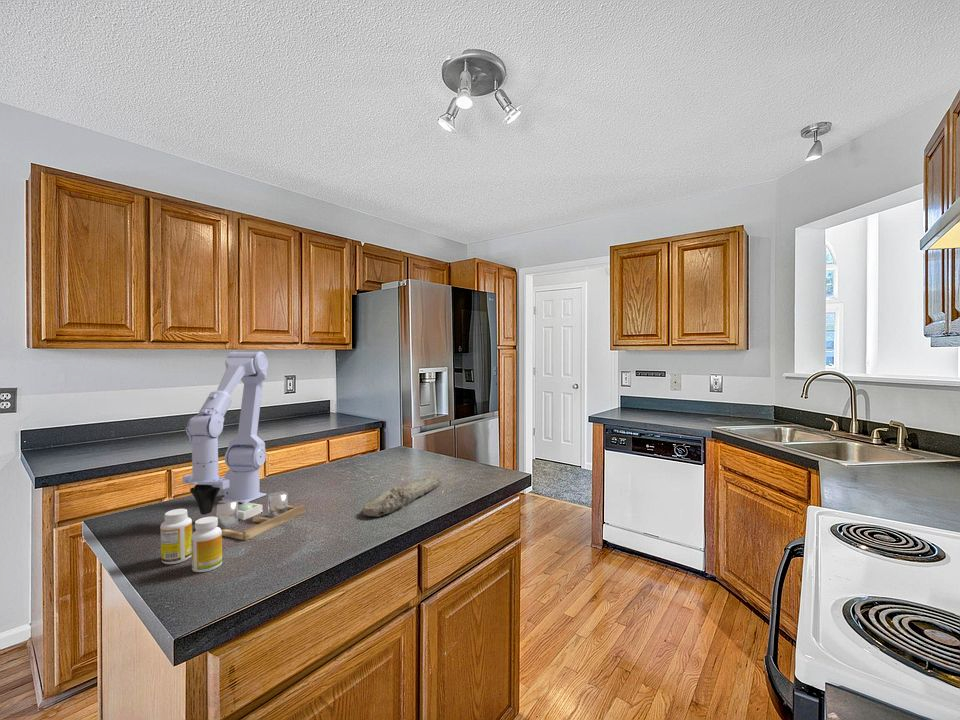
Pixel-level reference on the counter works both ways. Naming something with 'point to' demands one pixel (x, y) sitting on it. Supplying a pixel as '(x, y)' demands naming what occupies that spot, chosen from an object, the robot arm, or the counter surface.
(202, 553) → the supplement bottle
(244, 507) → the button
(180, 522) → the supplement bottle
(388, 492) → the elongated rock
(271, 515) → the cylinder
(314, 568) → the counter surface
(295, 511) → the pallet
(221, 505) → the billet
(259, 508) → the button housing
